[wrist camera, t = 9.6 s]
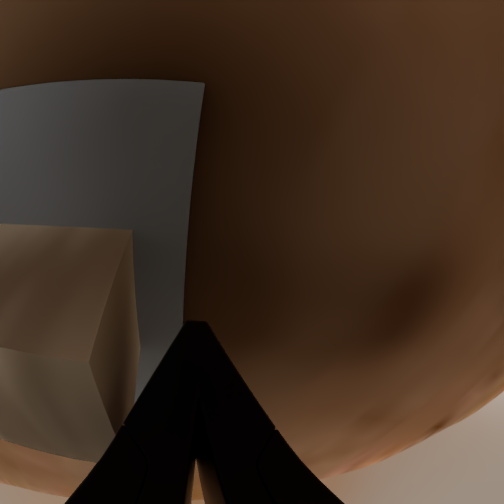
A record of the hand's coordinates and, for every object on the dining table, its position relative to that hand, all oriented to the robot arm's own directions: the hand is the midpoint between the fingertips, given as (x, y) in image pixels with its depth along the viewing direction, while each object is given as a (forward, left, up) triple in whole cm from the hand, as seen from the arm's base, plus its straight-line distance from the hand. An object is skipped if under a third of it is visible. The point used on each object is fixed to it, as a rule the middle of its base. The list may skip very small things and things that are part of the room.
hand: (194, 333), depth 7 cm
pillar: (+2, 0, +1) cm, 2 cm away
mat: (+5, 0, -2) cm, 5 cm away
